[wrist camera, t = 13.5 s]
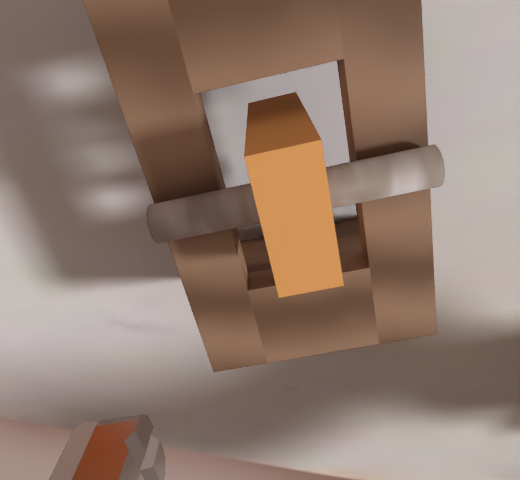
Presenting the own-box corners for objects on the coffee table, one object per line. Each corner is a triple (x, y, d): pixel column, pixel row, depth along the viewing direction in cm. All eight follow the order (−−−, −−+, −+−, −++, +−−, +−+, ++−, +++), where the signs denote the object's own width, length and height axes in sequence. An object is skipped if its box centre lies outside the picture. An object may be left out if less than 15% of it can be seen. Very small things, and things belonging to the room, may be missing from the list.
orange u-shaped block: (248, 103, 26) (244, 156, 16) (295, 92, 26) (321, 139, 16) (270, 201, 29) (278, 297, 19) (313, 192, 29) (344, 285, 19)
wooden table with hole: (384, 245, 36) (450, 356, 24) (226, 275, 38) (210, 396, 25) (353, -55, 27) (435, -133, 14) (145, -1, 28) (54, -30, 16)
